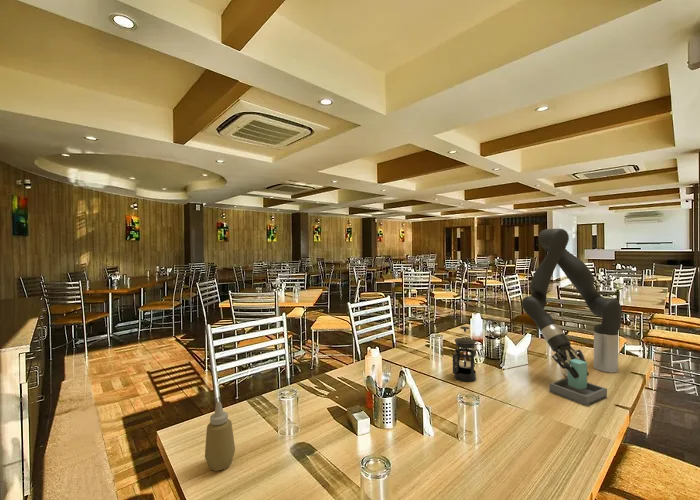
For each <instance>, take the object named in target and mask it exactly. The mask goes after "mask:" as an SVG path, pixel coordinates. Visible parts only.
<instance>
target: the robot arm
mask: <svg viewBox="0 0 700 500" xmlns="http://www.w3.org/2000/svg"><path fill="white" fill-rule="evenodd" d="M569 241H570V236H569V233H568V231H566V230H565V229H563V228H546V229H542V230H541V231H540V232H539V234H538V243H539V244H540V246H541V247H542V248H543V250H544V251H546V252H547V253H546V255H545V257H544V258H543V260H542V261H541V263H539V265H538V267H537V268H536V269H535V271H534V272H533V275H532V278H531V282H530V285H529V289H530V291H531V294H530V295H527V296H525V297H523V299H522V301H521V307H522V309H523V310H524V312H525V313H526V314H527V315H528V316H529V318H530V319H531V320H532V321H533V322H534V323H535V325H536V326H537V329H538V330H539V331H540V332H541V335H542V336H543V339H544V340H545V341H546V343H547V344H548V346H549V347H550V349H551V350H552V352H555V353H554V354H552V355H551V358H552V359H553V360H554V361H555V362H556V363H557V365H559V366H560V367H561V369H564V368H565V369H567V370H569V372H570V373H571V375H572V376H573V377H574V378H575V379H576V378H578V377H579V374H578V373H577V372H576V370H575V369H574V367H573V366H572V364H571V362H570V361H571V360H572V359H575V358H576V359H577V360H582V361H584V362H587V361H586V359H584V357H583V355H584V353H583V354H582V352H583V351H582V350H580V349H576V350H574V349H575V348H573V347H572V342H571V341H570V340H569V339H568V337H567V336H566V333H564V331H563V330H562V328H561V327H559V325H558V324H557V323H556V321H555V320H554V318H553V317H552V316H551V315H550V314H549V313H547V311H545V307H546V304H547V293H548V292H547V291H548V289H549V286H550V283H551V280H552V277H553V275H554V271H555V268H556V267H557V265H558V267H559V268H560V269H561V271H562V272H563V273H564V274H565V277H567V279H568V280H569V281H570V283H571V284H572V285H573V286H574V288H575V290H577V292H578V293H579V294H580V296H581V297H582V298H583V300H584V302H585V304H586V306H587V307H588V309H589V311H590V312H591V313H592V314H593V315H595V316H596V317H599V318H601V323H600V324H595V325H594V326H593V369H595V370H597V371H600V372H604V373H612V374H613V373H618V371H619V333H620V329H621V327H622V324H621V323H622V312H623V311H622V309H623V308H622V305H621V304H620V302H619V301H617V300H615V299H612V298H607V297H604V296H602V295H601V294H600V293H599V292H598V290H597V289H596V287H595V278H594V277H595V276H594V275H593V273H592V271H591V270H590V269H589V267H588V266H587V265H586V263H585V262H584V261H583V260H582V259H580V258H579V257H577V256H576V255H574V254H572V253H571V252H570V251H569V250H567V249H566V248H567V245H568V244H569ZM581 351H582V352H581ZM568 364H569V365H568ZM589 375H590V373H589V371H588V370H587V377H588V376H589Z"/></svg>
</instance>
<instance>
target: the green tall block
mask: <svg viewBox="0 0 700 500" xmlns="http://www.w3.org/2000/svg"><path fill="white" fill-rule="evenodd" d="M570 362H571V364H572V366H573V367H574V369H575V370H576V372H577V373H578V374H579V377H578V378H576V379H575V378H574V377H573V376H572V375H571V373H570V372H569V370H568V385H569V386H572V387H574V388H576V389H578V390H579V389H583V388H587V382H588V376H587V371H588V362H587V361H586V362H584V361H582V360H577V359H572V360H571V361H570ZM568 365H569V364H568Z"/></svg>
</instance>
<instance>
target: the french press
mask: <svg viewBox="0 0 700 500" xmlns="http://www.w3.org/2000/svg"><path fill="white" fill-rule="evenodd" d="M459 329H461V330H463V332H464V333H466V332H467V330H470V329H471V328H470V327H469V326H466V325H465V326H460V327H459ZM454 342H455V346H456V347H458V348H455V349H454V353H452V374H454V375H453V377H454V379H455V380H456V381H458V382H461V383H473V382H476V381H477V374H476V373H477V372H476V370H475V367H476V363H475V357H476V355H477V353H476V350H473V348H475V344H476V342H477V341H476V340H475V339H473V338H468V337H457V338H455V339H454ZM461 352H465V353H467V352H468V353H470V354H462V353H461ZM460 358H463V359H464V360H461V359H460ZM466 359H470V361H469V360H466Z"/></svg>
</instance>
